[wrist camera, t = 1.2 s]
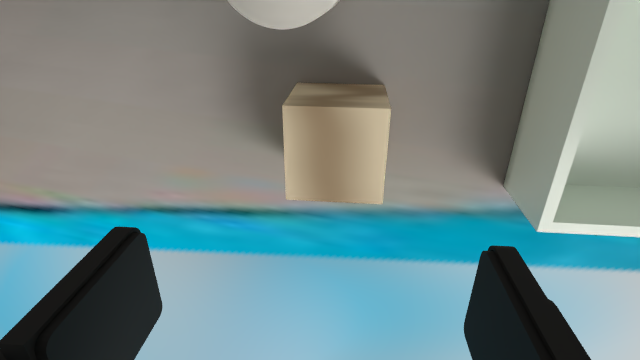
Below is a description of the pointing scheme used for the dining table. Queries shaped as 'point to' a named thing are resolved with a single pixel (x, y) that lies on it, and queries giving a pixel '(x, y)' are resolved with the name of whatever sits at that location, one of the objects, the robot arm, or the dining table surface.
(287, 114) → the beech cube
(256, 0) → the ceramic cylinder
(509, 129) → the dining table surface
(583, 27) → the tote
